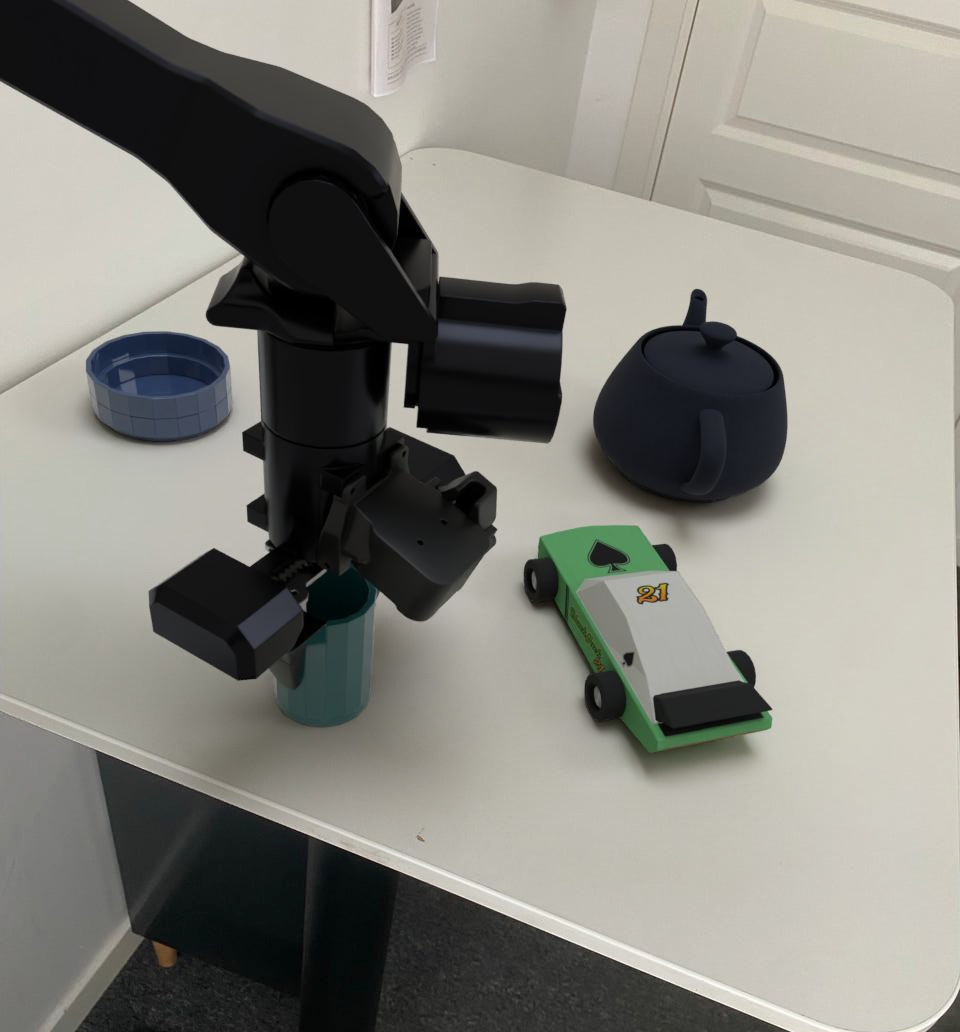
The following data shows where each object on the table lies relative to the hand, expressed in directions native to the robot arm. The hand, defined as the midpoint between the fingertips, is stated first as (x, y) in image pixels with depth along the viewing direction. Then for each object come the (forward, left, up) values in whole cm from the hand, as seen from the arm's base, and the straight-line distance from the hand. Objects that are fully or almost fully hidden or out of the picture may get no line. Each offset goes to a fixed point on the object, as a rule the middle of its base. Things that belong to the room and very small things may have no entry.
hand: (322, 655), depth 54 cm
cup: (0, 0, -3) cm, 3 cm away
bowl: (-17, +29, -3) cm, 34 cm away
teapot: (+26, +30, -3) cm, 40 cm away
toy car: (+20, +6, -3) cm, 21 cm away
